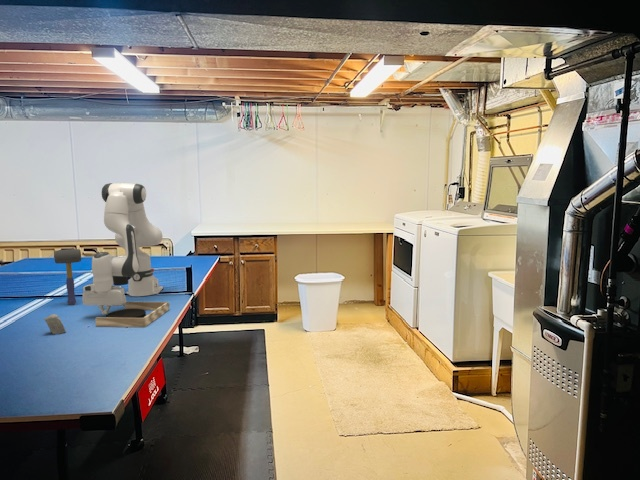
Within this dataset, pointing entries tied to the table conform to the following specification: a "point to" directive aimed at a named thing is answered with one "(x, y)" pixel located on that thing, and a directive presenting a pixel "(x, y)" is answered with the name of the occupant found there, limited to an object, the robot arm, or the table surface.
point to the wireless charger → (128, 313)
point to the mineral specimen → (55, 324)
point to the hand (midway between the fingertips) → (105, 314)
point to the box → (135, 322)
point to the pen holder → (120, 280)
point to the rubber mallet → (68, 268)
